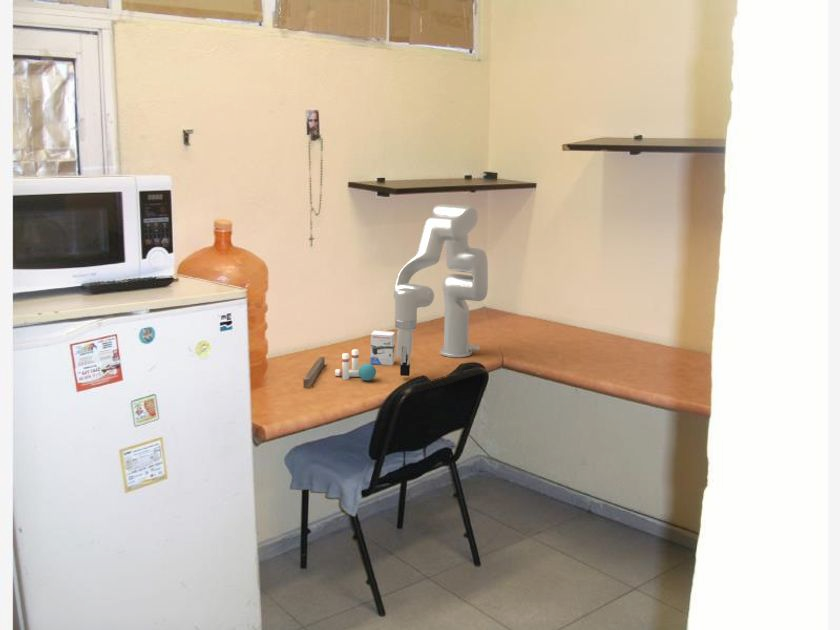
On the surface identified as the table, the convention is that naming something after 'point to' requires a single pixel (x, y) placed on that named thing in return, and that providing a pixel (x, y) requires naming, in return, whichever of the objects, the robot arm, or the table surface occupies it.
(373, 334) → the ink box
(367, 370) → the ball
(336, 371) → the pin front
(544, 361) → the table surface
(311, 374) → the bar
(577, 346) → the table surface
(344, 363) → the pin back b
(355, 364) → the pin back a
